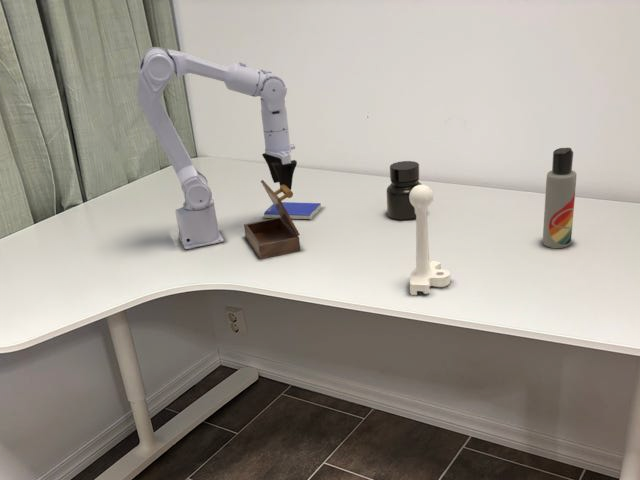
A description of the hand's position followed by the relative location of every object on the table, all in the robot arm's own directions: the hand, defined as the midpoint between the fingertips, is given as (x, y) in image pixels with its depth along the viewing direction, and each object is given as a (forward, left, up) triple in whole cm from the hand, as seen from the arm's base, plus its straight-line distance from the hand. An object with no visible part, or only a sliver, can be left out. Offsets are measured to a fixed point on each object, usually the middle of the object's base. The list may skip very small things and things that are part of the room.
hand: (282, 186), depth 185 cm
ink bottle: (+28, -8, -10) cm, 31 cm away
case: (-6, -9, -10) cm, 15 cm away
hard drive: (+4, +8, -10) cm, 13 cm away
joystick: (+17, -46, -10) cm, 50 cm away
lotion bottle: (+48, -41, -10) cm, 64 cm away
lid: (-4, -9, -2) cm, 10 cm away
